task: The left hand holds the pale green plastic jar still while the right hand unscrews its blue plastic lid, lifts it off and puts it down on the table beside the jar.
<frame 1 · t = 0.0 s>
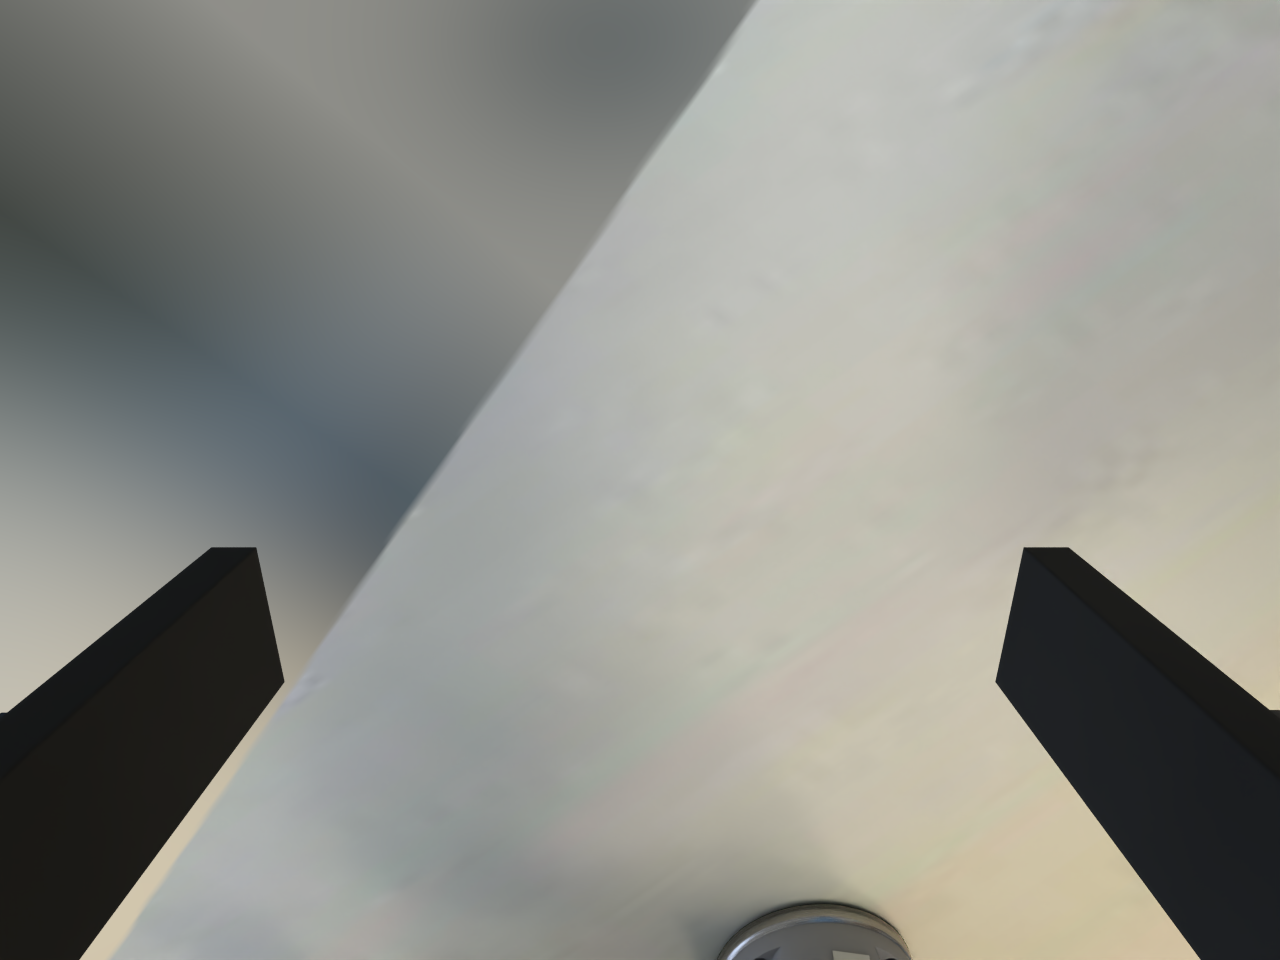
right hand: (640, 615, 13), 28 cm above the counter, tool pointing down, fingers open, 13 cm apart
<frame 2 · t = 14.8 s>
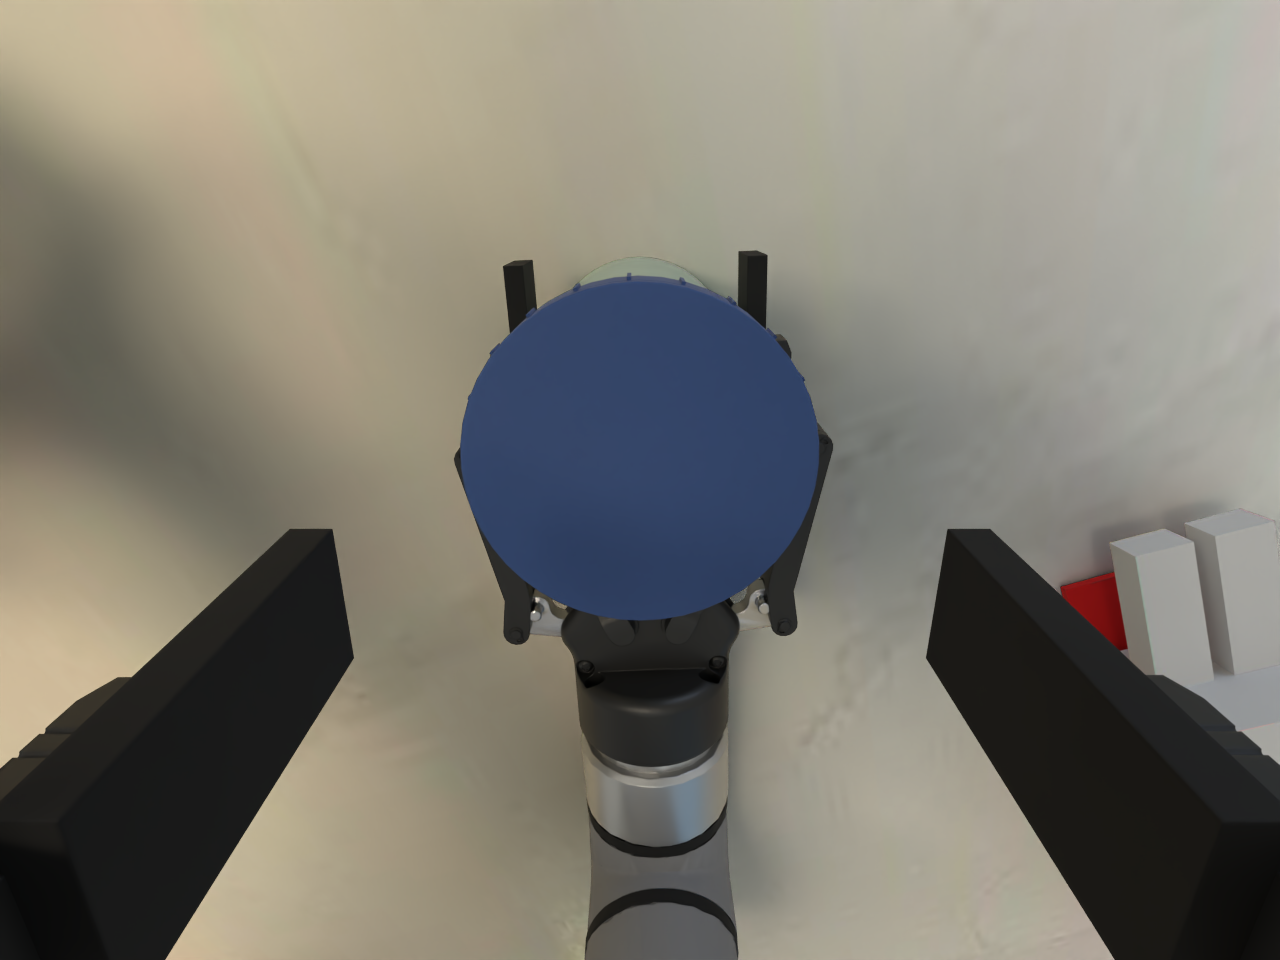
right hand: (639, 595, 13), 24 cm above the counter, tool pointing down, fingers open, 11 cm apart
lid: (639, 461, 20), point 17 cm above the counter, screwed on, not yet turned
toy: (1148, 717, 44), on the counter
jar: (639, 346, 36), on the counter, touching left hand
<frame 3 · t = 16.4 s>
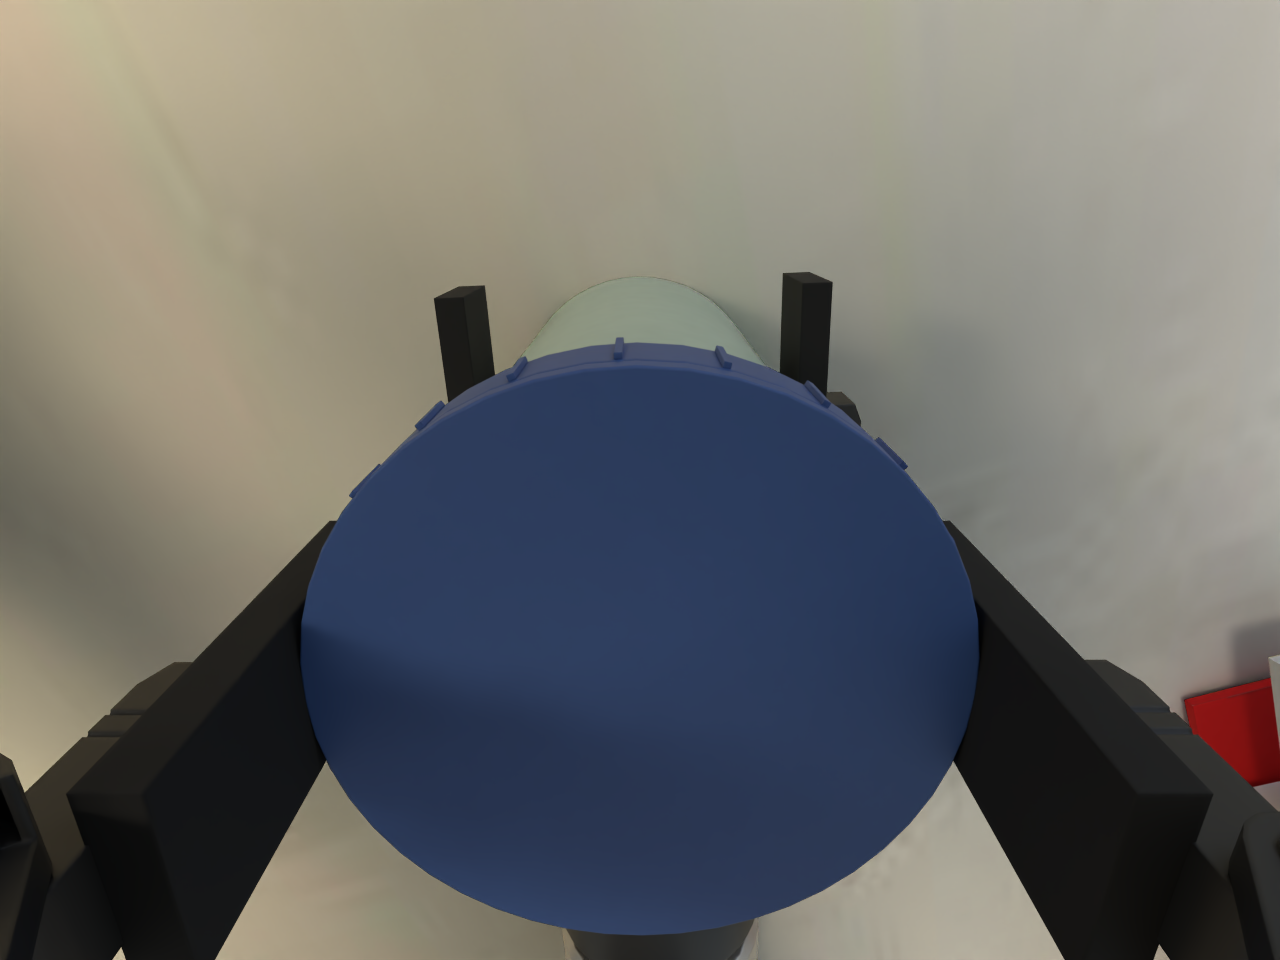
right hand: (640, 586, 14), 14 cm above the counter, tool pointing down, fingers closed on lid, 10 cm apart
lid: (639, 683, 11), point 17 cm above the counter, screwed on, not yet turned, touching right hand
jar: (639, 395, 27), on the counter, touching left hand
when the right hand's fingers open (15 cm above the counter, at t = 18.1 s): lid stays where it is, point 17 cm above the counter.
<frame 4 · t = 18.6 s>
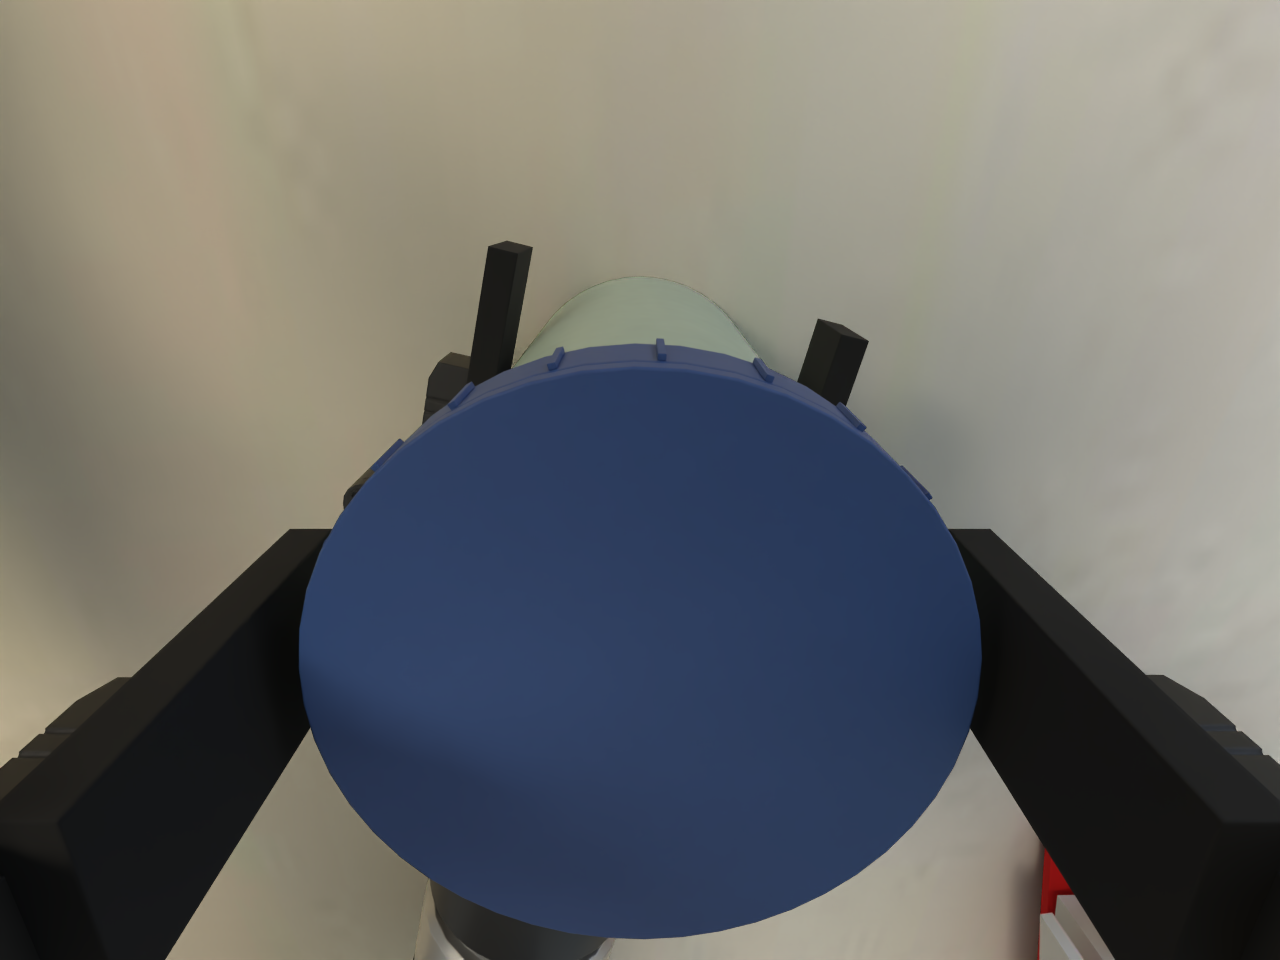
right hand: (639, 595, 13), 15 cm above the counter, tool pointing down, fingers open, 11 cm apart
lid: (640, 686, 11), point 17 cm above the counter, turned 91° so far, risen 0.3 cm, still on its thread
jar: (640, 394, 27), on the counter, touching left hand
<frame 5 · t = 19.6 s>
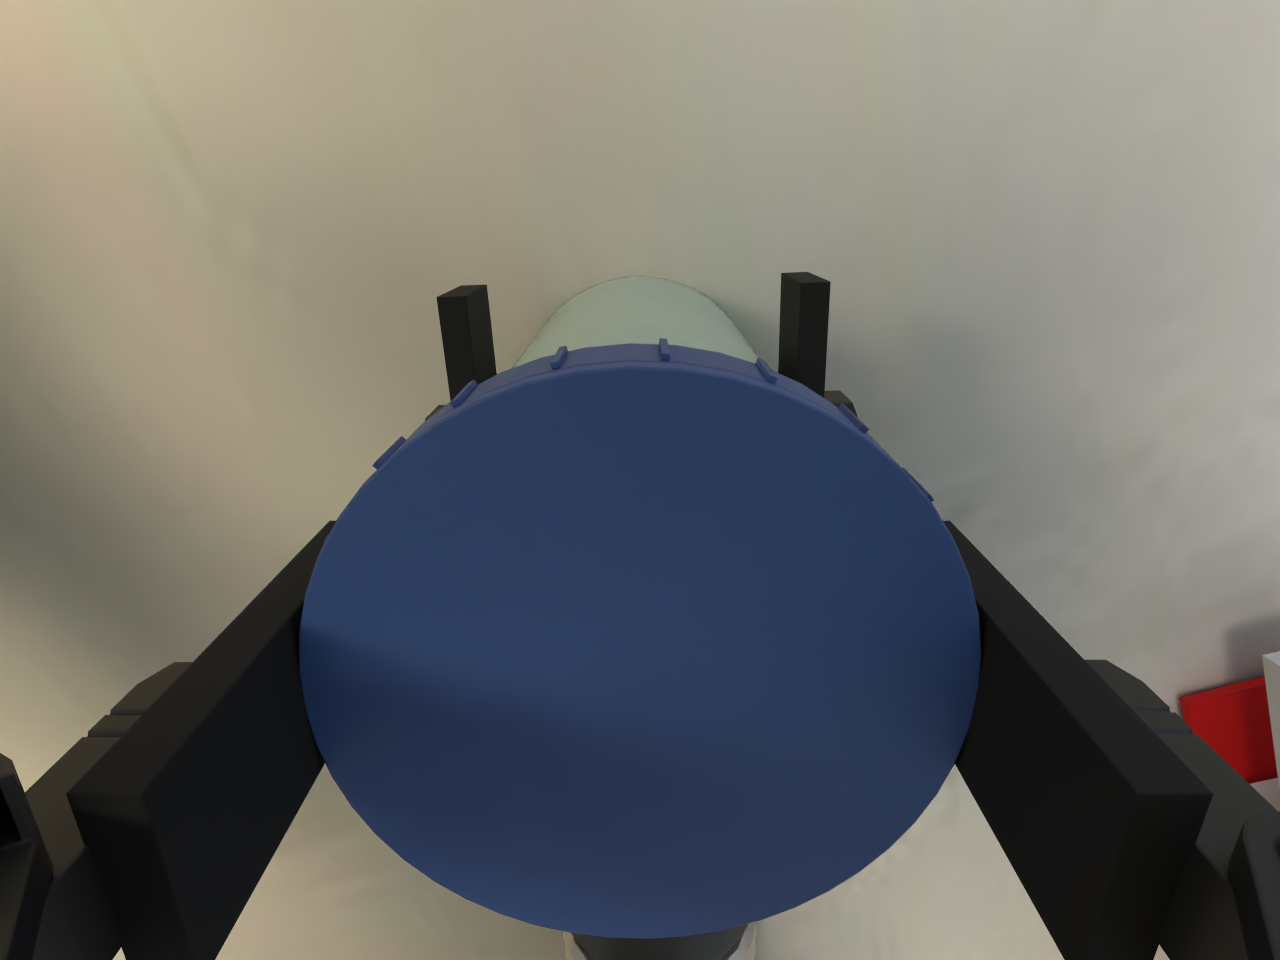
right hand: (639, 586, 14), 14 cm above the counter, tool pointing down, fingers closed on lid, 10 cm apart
lid: (639, 686, 11), point 17 cm above the counter, turned 91° so far, risen 0.3 cm, still on its thread, touching right hand
toy: (1277, 850, 35), on the counter
jar: (639, 394, 27), on the counter, touching left hand
when the right hand's fingers open (0 cm above the counter, at t = 26.4 s): lid drops 2 cm, point 1 cm above the counter.
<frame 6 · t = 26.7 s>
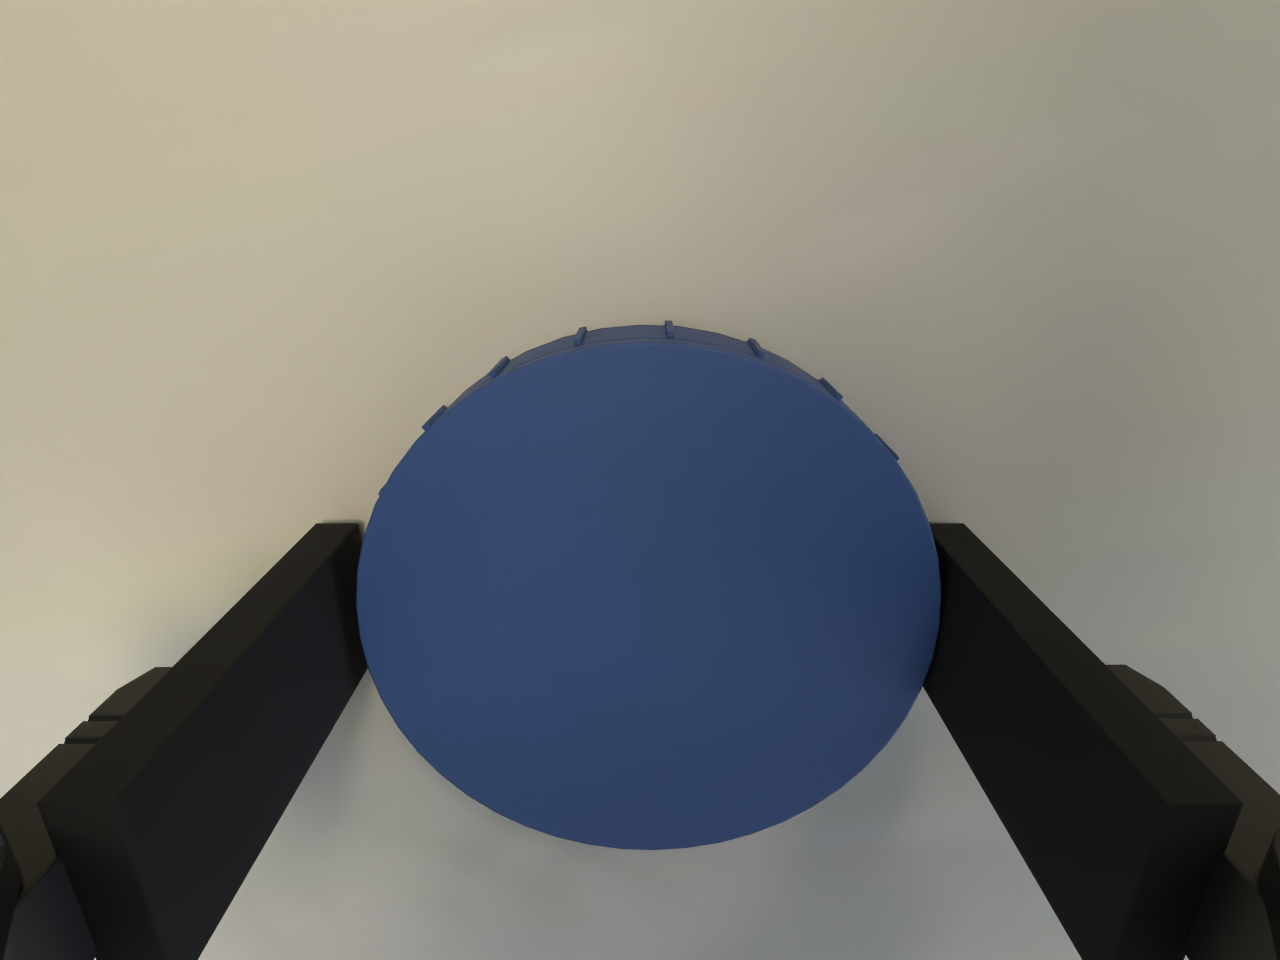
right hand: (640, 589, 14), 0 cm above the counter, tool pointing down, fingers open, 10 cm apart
lid: (647, 621, 13), point 1 cm above the counter, off its thread
when the left hand's fingers open (6 cm above the counter, at t = 28.2 s): jar stays where it is, on the counter.
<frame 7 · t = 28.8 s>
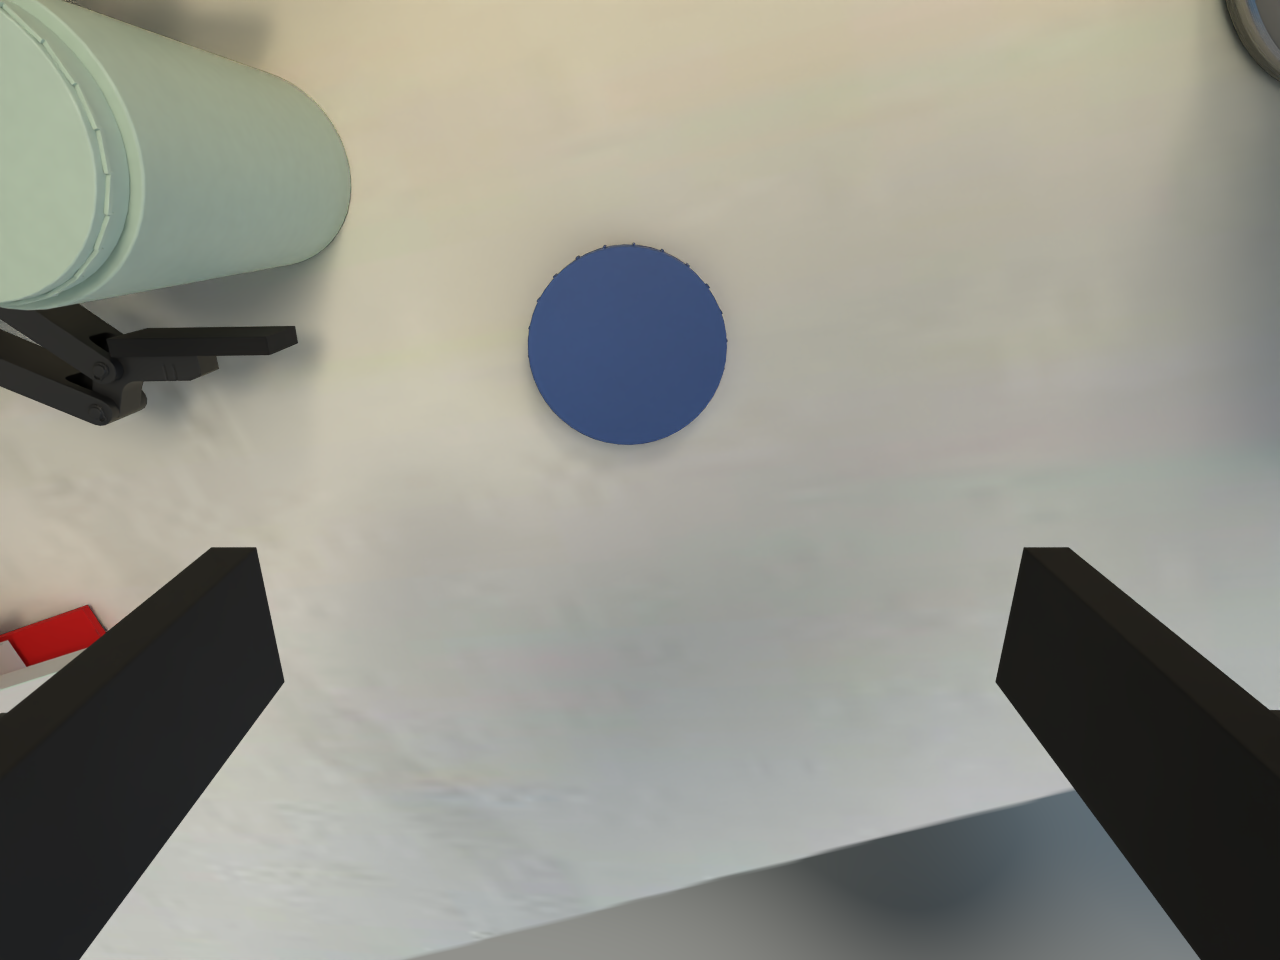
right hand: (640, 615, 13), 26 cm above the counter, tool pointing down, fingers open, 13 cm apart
lid: (627, 349, 36), point 1 cm above the counter, off its thread
jar: (259, 171, 34), on the counter
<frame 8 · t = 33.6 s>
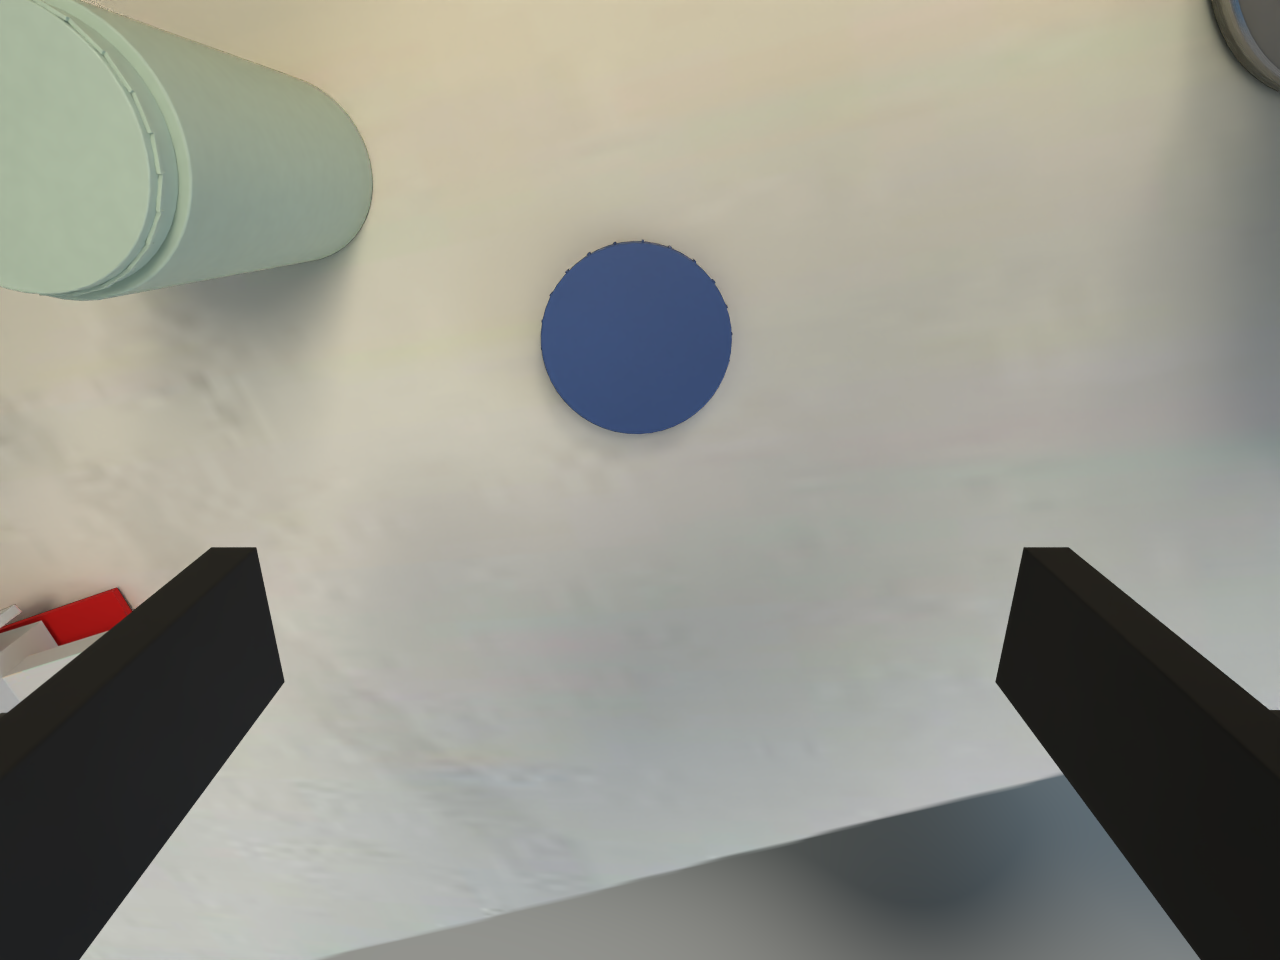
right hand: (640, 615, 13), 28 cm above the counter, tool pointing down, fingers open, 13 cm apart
lid: (636, 341, 38), point 1 cm above the counter, off its thread
toy: (2, 683, 47), on the counter
jar: (285, 171, 36), on the counter
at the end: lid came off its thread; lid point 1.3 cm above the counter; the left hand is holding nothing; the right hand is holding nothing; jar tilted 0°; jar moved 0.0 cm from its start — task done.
